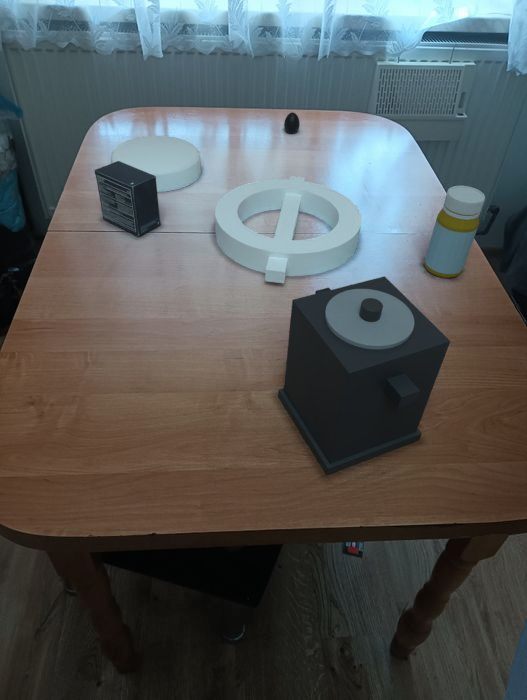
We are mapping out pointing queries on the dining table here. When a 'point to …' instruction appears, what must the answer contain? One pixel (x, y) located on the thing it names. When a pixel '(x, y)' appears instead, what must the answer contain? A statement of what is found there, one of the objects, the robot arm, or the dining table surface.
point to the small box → (128, 197)
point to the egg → (291, 123)
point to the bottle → (454, 231)
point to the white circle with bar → (287, 228)
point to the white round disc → (162, 160)
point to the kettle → (359, 371)
